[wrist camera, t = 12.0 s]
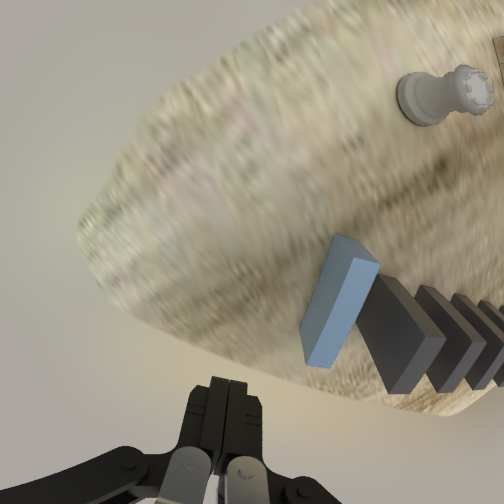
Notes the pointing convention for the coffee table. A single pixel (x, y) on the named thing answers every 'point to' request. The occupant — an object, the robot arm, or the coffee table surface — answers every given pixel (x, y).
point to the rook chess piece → (444, 94)
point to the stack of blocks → (500, 52)
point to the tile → (337, 300)
